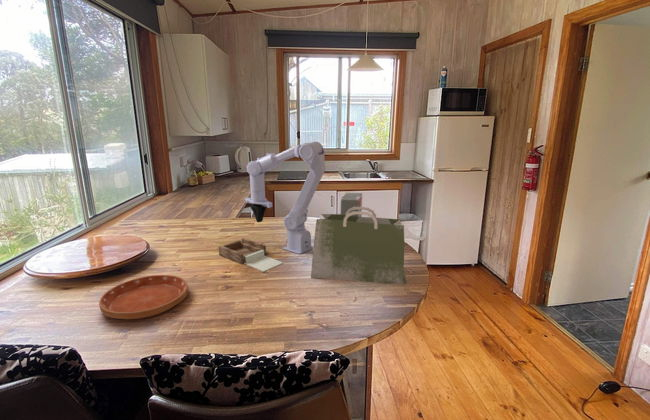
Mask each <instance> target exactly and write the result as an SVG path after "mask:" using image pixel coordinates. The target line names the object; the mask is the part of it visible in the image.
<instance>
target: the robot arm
mask: <svg viewBox="0 0 650 420" xmlns="http://www.w3.org/2000/svg"><path fill="white" fill-rule="evenodd" d="M325 154H326V150H325V148H324V146H323V145H322V144H321V142H319V141H312V142H305V143H302V144H298V145H294V146H292V147H291V148H287V149H285V150H284V151H281V152H279V153H277V154H276V153H274V152H272V153H271V152H267V153H266V155H265V156H262V157H257V158H256V159H257V160H251V161H250V162H248V163H247V164H246V171H247V173H248V174H249V185H250V197H246V198H244V200H245V204H252V205H250V209H251V211H252V212H253V215H254V217H255V221H256V222H257V223H262V222H263V221H264V215H265V212H266V210H267V208H269V209H270V208H272V207H273V202H272V201H269V200H268V199H267V198H266V188H265V187H266V186H265V185H266V184H265V182H266V181H265V173H266V172H268V171H271V170H274V169H276V168H278V167H279V166H280V165H281V162H283V161H287V160H290V159H292V158H294V157H296V158H298V159H299V158H301V159H302V160H303V161H304V163H305V164H306V165H307V166H308V169H309V172H308V174H307V176H306V178H305V181H304V182H303V185H302V187H301V190H300V193H299V194H298V197H297V199H296V202H295V204H294V205H293V207H292V208H291V209H290V211H289V213H288V214H287V215H285V216H284V218H283V225H284V227H285V228H286V236H287V237H286V239H287V245H286V246H284V247H283V248H282V249H283V250H286V251H289V252H292V253H295V254H298V255H301V254H304V253H305V252H308V251H310V250H312V249H313V247H312V233H311V232H310V231H309V230H307V228H305V227H306V225H305V223H306V222H307V220H308V213H309V209H308V208H309V206H310V204H311V201H312V200H313V197H314V195H315V193H316V191H317V188H318V187H319V185H320V182H321V180H322V177H323V175H324V173H325V171H326V165H325V164H326V163H325V162H326V161H325Z"/></svg>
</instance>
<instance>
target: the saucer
mask: <svg viewBox="0 0 650 420" xmlns="http://www.w3.org/2000/svg"><path fill="white" fill-rule="evenodd" d="M188 292H189V285H188V282H187V281H186V279H184V278H182V277H180V276H177V275H170V274H169V275H168V274H154V275H145V276H141V277H137V278H133V279H130V280H126V281H124V282H121V283H120V284H117V285H115V286H114V287H112V288H110V289H108V290H107V291H106V292H104V293H103V294H102V296H101V297H100V299H99V301H98V305H99V309H100V312H101V313H102V314H103V315H105V316H106V317H109V318H112V319H118V320H119V319H120V320H138V319H145V318H150V317H154V316H157V315H160V314H162V313H165V312H167V311H168V310H170V309H172V308H174V307H175V306H176V305H178V304H180V303H181V302H182V301H183V300H184V299H185V298H186V296H187V295H188V294H189V293H188Z"/></svg>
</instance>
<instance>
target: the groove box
mask: <svg viewBox="0 0 650 420" xmlns="http://www.w3.org/2000/svg"><path fill="white" fill-rule="evenodd" d="M260 250H264V256H266V255H267V245H266V244H263V243H259V242H257V241H253V240H250V239H247V238H245V237H242V238H241V240H235V241H232V242H229V243H226V244H224V245H218V255H219V256H221V257H223V258H226V259H228V260H230V261H233V262H235V263H238V264H240V265H244V263H245V262H246V261H245V256H247V255H249V254H252V253H255V252H257V251H260Z"/></svg>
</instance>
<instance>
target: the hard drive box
mask: <svg viewBox="0 0 650 420" xmlns="http://www.w3.org/2000/svg"><path fill="white" fill-rule="evenodd" d="M352 207H363V193H361V192H345V194H344V195H343V197H342V198H341V199H340V214H342V215H345V213H346V212H347V210H348V209H350V208H352ZM353 211H358V212H363V210H362V209H357V210H352V211H350V212H349V213H351V212H353ZM351 216H357V217H363V216H362V214H354V215H351Z"/></svg>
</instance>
